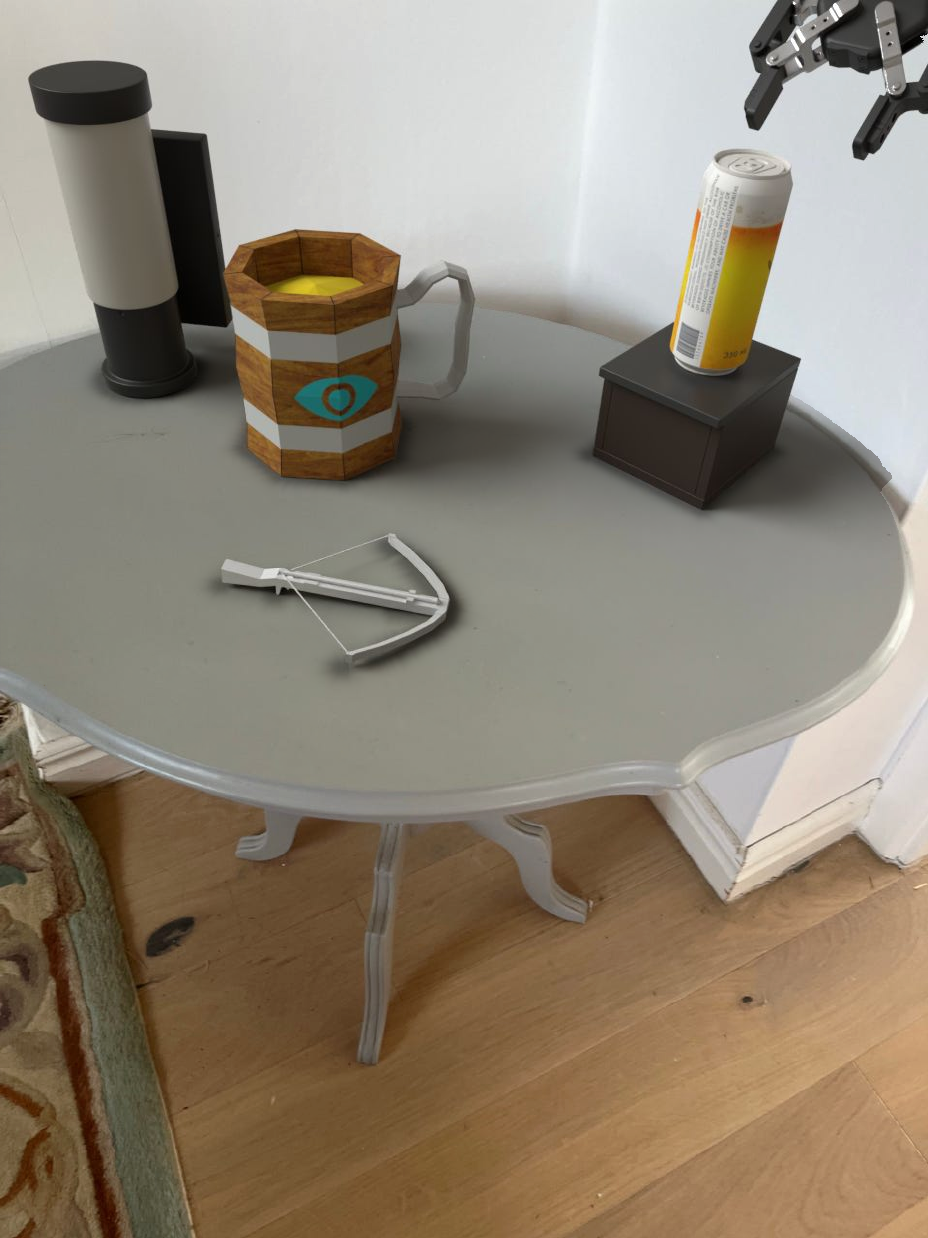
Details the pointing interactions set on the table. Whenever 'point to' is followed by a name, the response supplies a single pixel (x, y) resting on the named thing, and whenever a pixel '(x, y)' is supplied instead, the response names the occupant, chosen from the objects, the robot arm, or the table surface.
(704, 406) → the lid
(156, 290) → the light fixture
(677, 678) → the table surface
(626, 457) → the hinged brown box
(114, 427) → the table surface
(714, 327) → the beer can
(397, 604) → the crossbow
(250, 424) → the mug
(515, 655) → the table surface
